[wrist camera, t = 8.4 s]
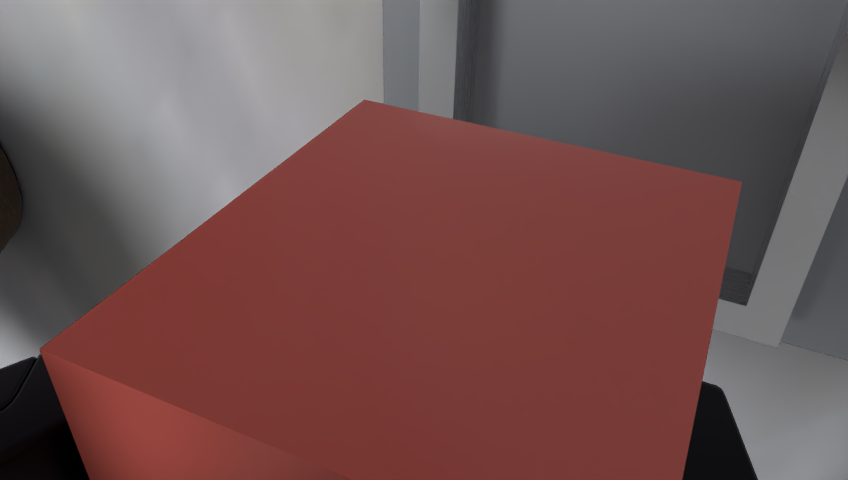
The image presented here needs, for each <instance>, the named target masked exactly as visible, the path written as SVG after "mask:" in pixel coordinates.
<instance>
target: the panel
mask: <svg viewBox="0 0 848 480" xmlns="http://www.w3.org/2000/svg"><path fill="white" fill-rule="evenodd" d="M847 1H848V0H480V13H479V29H478V45H477V61H476V76H475V92H474V108H473V123H474V124H478V125H483V126H488V127H492V128H497V129H501V130H506V131H511V132H515V133H520V134H524V135H529V136H534V137H538V138H543V139H547V140H552V141H557V142H561V143H566V144H571V145H575V146H580V147H584V148H589V149H594V150H598V151H603V152H607V153H612V154H617V155H621V156H626V157H630V158H635V159H640V160H644V161H649V162H653V163H658V164H663V165H667V166H672V167H677V168H681V169H686V170H690V171H695V172H700V173H704V174H709V175H713V176H718V177H723V178H727V179H732V180H736V181H741V182H742V184H741V189H740V194H739V199H738V204H737V209H736V214H735V219H734V224H733V229H732V234H731V239H730V244H729V249H728V254H727V259H726V264H725V267H729V268H733V269H737V270H740V271H744V272H748V273H752V270H753V267H754V265H755V262H756V259H757V256H758V253H759V250H760V248H761V245H762V242H763V239H764V236H765V233H766V231H767V228H768V225H769V222H770V219H771V216H772V214H773V211H774V208H775V205H776V202H777V199H778V197H779V194H780V191H781V188H782V185H783V182H784V179H785V177H786V174H787V171H788V168H789V165H790V162H791V160H792V157H793V154H794V151H795V148H796V145H797V143H798V140H799V137H800V134H801V131H802V128H803V126H804V123H805V120H806V117H807V114H808V111H809V109H810V106H811V103H812V100H813V97H814V94H815V92H816V89H817V86H818V83H819V80H820V77H821V75H822V72H823V69H824V66H825V63H826V60H827V57H828V55H829V52H830V49H831V46H832V43H833V40H834V38H835V35H836V32H837V29H838V26H839V23H840V21H841V18H842V15H843V12H844V9H845V6H846V4H847ZM419 36H420V0H383V68H384V104H386V105H391V106H395V107H400V108H405V109H409V110H414V111H418V98H419ZM780 342H784V343H787V344H791V345H794V346H798V347H802V348H805V349H809V350H812V351H816V352H819V353H823V354H826V355H830V356H833V357H837V358H840V359H844V360H848V176H847V178H846V181H845V183H844V186H843V188H842V191H841V193H840V196H839V198H838V200H837V203H836V205H835V208H834V210H833V213H832V215H831V218H830V220H829V222H828V225H827V227H826V230H825V232H824V235H823V237H822V240H821V242H820V244H819V247H818V249H817V252H816V254H815V257H814V259H813V262H812V264H811V266H810V269H809V271H808V274H807V276H806V279H805V281H804V284H803V286H802V288H801V291H800V293H799V296H798V298H797V301H796V303H795V306H794V308H793V310H792V313H791V315H790V318H789V320H788V323H787V325H786V328H785V330H784V332H783V335H782V337H781V340H780Z"/></svg>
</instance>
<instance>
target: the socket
mask: <svg viewBox="0 0 848 480" xmlns="http://www.w3.org/2000/svg"><path fill="white" fill-rule="evenodd" d="M479 13H480V0H420V36H419V98H418V112H423V113H428V114H432V115H437V116H441V117H446V118H451V119H455V120H460V121H465V122H469V123H473V108H474V92H475V76H476V61H477V45H478V29H479ZM847 176H848V1H847V4H846V6H845V9H844V12H843V15H842V18H841V21H840V23H839V26H838V29H837V32H836V35H835V38H834V40H833V43H832V46H831V49H830V52H829V55H828V57H827V60H826V63H825V66H824V69H823V72H822V75H821V77H820V80H819V83H818V86H817V89H816V92H815V94H814V97H813V100H812V103H811V106H810V109H809V111H808V114H807V117H806V120H805V123H804V126H803V128H802V131H801V134H800V137H799V140H798V143H797V145H796V148H795V151H794V154H793V157H792V160H791V162H790V165H789V168H788V171H787V174H786V177H785V179H784V182H783V185H782V188H781V191H780V194H779V197H778V199H777V202H776V205H775V208H774V211H773V214H772V216H771V219H770V222H769V225H768V228H767V231H766V233H765V236H764V239H763V242H762V245H761V248H760V250H759V253H758V256H757V259H756V262H755V265H754V267H753V270H752V273H748V272H744V271H740V270H737V269H733V268H729V267H725V269H724V274H723V279H722V284H721V289H720V294H719V299H718V304H717V309H716V314H715V319H714V324H713V330H717V331H720V332H724V333H727V334H731V335H734V336H738V337H741V338H745V339H748V340H752V341H755V342H759V343H762V344H766V345H769V346H773V347H776V348H777V347H778V345H779V342H780V340H781V337H782V335H783V332H784V330H785V328H786V325H787V323H788V320H789V318H790V315H791V313H792V310H793V308H794V306H795V303H796V301H797V298H798V296H799V293H800V291H801V288H802V286H803V284H804V281H805V279H806V276H807V274H808V271H809V269H810V266H811V264H812V262H813V259H814V257H815V254H816V252H817V249H818V247H819V244H820V242H821V240H822V237H823V235H824V232H825V230H826V227H827V225H828V222H829V220H830V218H831V215H832V213H833V210H834V208H835V205H836V203H837V200H838V198H839V196H840V193H841V191H842V188H843V186H844V183H845V181H846V178H847Z"/></svg>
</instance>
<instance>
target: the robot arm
mask: <svg viewBox="0 0 848 480" xmlns="http://www.w3.org/2000/svg"><path fill="white" fill-rule="evenodd" d="M0 480H90V479H89V476H88V474H87V471H86V469H85V466H84V464H83V461H82V458H81V456H80V453H79V451H78V448H77V445H76V443H75V440H74V438H73V435H72V432H71V430H70V427H69V425H68V422H67V420H66V417H65V414H64V412H63V409H62V407H61V404H60V401H59V399H58V396H57V394H56V391H55V389H54V386H53V383H52V381H51V378H50V376H49V373H48V370H47V368H46V365H45V363H44V360H43V358H42V355H41V354H40V355H39V356H38V358H36V357H30V358H28V359H25V360H23V361H20V362H17V363H15V364H12V365H9V366H7V367H4V368H1V369H0ZM682 480H758V479H757V476H756V473H755V471H754V468H753V466H752V463H751V461H750V458H749V455H748V453H747V450H746V448H745V445H744V443H743V440H742V437H741V435H740V432H739V430H738V427H737V425H736V422H735V419H734V417H733V414H732V412H731V409H730V407H729V404H728V401H727V399H726V396H725V394H724V392H723V390H722V389H721V388H720V387H718V386H716V385H713V384H710V383H706V382H703V381H702V383H701V388H700V393H699V398H698V403H697V408H696V413H695V418H694V423H693V428H692V433H691V438H690V443H689V448H688V453H687V458H686V463H685V468H684V473H683V478H682Z"/></svg>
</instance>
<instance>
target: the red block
mask: <svg viewBox="0 0 848 480" xmlns="http://www.w3.org/2000/svg"><path fill="white" fill-rule="evenodd" d="M741 184H742V182H741V181H736V180H732V179H727V178H723V177H718V176H713V175H709V174H704V173H700V172H695V171H690V170H686V169H681V168H677V167H672V166H667V165H663V164H658V163H653V162H649V161H644V160H640V159H635V158H630V157H626V156H621V155H617V154H612V153H607V152H603V151H598V150H594V149H589V148H584V147H580V146H575V145H571V144H566V143H561V142H557V141H552V140H547V139H543V138H538V137H534V136H529V135H524V134H520V133H515V132H511V131H506V130H501V129H497V128H492V127H488V126H483V125H478V124H474V123H469V122H465V121H460V120H455V119H451V118H446V117H441V116H437V115H432V114H428V113H423V112H418V111H414V110H409V109H405V108H400V107H395V106H391V105H386V104H382V103H377V102H372V101H368V100H363V101H362V102H361V103H359V104H358V105H357V106H355V107H354V108H353V109H352V110H350V111H349V112H348V113H346V114H345V115H344V116H342V117H341V118H340V119H339V120H337V121H336V122H335V123H333V124H332V125H331V126H329V127H328V128H327V129H325V130H324V131H323V132H322V133H320V134H319V135H318V136H316V137H315V138H314V139H312V140H311V141H310V142H309V143H307V144H306V145H305V146H303V147H302V148H301V149H299V150H298V151H297V152H296V153H294V154H293V155H292V156H290V157H289V158H288V159H286V160H285V161H284V162H283V163H281V164H280V165H279V166H277V167H276V168H275V169H273V170H272V171H271V172H269V173H268V174H267V175H266V176H264V177H263V178H262V179H260V180H259V181H258V182H256V183H255V184H254V185H253V186H251V187H250V188H249V189H247V190H246V191H245V192H243V193H242V194H241V195H240V196H238V197H237V198H236V199H234V200H233V201H232V202H230V203H229V204H228V205H227V206H225V207H224V208H223V209H221V210H220V211H219V212H217V213H216V214H215V215H214V216H212V217H211V218H210V219H208V220H207V221H206V222H204V223H203V224H202V225H200V226H199V227H198V228H197V229H195V230H194V231H193V232H191V233H190V234H189V235H187V236H186V237H185V238H184V239H182V240H181V241H180V242H178V243H177V244H176V245H174V246H173V247H172V248H171V249H169V250H168V251H167V252H165V253H164V254H163V255H161V256H160V257H159V258H158V259H156V260H155V261H154V262H152V263H151V264H150V265H148V266H147V267H146V268H144V269H143V270H142V271H141V272H139V273H138V274H137V275H135V276H134V277H133V278H131V279H130V280H129V281H128V282H126V283H125V284H124V285H122V286H121V287H120V288H118V289H117V290H116V291H115V292H113V293H112V294H111V295H109V296H108V297H107V298H105V299H104V300H103V301H102V302H100V303H99V304H98V305H96V306H95V307H94V308H92V309H91V310H90V311H88V312H87V313H86V314H85V315H83V316H82V317H81V318H79V319H78V320H77V321H75V322H74V323H73V324H72V325H70V326H69V327H68V328H66V329H65V330H64V331H62V332H61V333H60V334H59V335H57V336H56V337H55V338H53V339H52V340H51V341H49V342H48V343H47V344H46V345H44V346H43V347H42V348H40V349H39V350H40V352H41V355H42V358H43V360H44V363H45V365H46V368H47V370H48V373H49V376H50V378H51V381H52V383H53V386H54V389H55V391H56V394H57V396H58V399H59V401H60V404H61V407H62V409H63V412H64V414H65V417H66V420H67V422H68V425H69V427H70V430H71V432H72V435H73V438H74V440H75V443H76V445H77V448H78V451H79V453H80V456H81V458H82V461H83V464H84V466H85V469H86V471H87V474H88V476H89V479H90V480H682V478H683V473H684V468H685V463H686V458H687V453H688V448H689V443H690V438H691V433H692V428H693V423H694V418H695V413H696V408H697V403H698V398H699V393H700V388H701V383H702V378H703V373H704V368H705V363H706V358H707V353H708V348H709V343H710V338H711V333H712V329H713V324H714V319H715V314H716V309H717V304H718V299H719V294H720V289H721V284H722V279H723V274H724V269H725V264H726V259H727V254H728V249H729V244H730V239H731V234H732V229H733V224H734V219H735V214H736V209H737V204H738V199H739V194H740V189H741Z"/></svg>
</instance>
